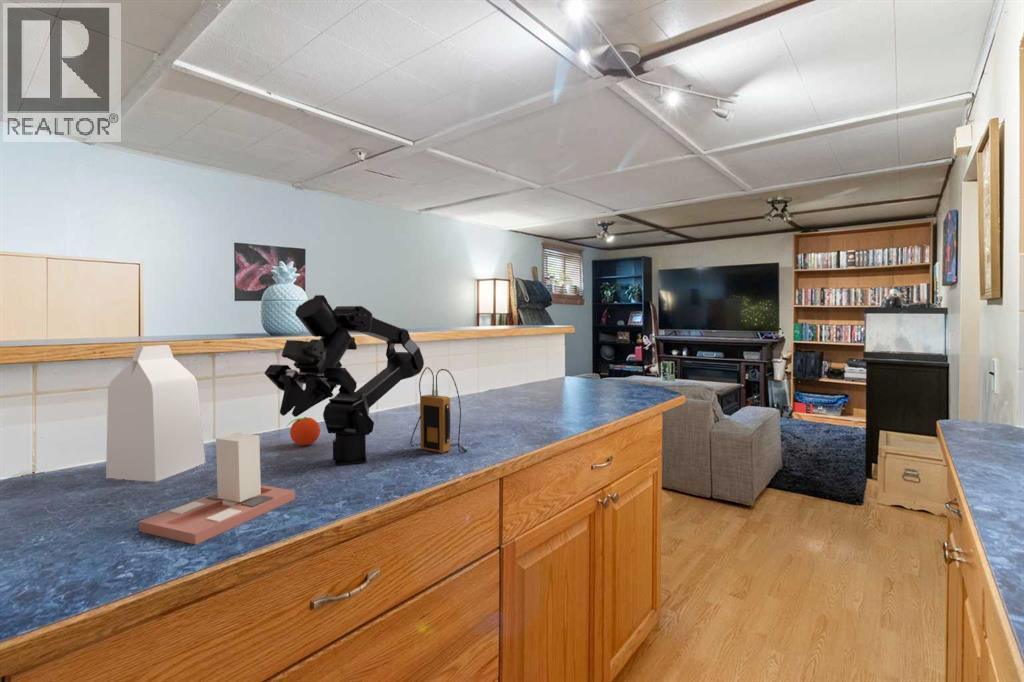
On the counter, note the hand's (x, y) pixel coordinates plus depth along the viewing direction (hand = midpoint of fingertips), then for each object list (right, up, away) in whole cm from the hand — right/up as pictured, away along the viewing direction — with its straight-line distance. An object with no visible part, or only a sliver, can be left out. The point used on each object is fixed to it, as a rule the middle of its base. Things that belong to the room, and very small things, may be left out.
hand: (287, 414), depth 90 cm
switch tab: (-4, -14, -9) cm, 17 cm away
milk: (-32, -13, +10) cm, 36 cm away
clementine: (-10, -12, +29) cm, 33 cm away
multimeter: (+26, -12, +28) cm, 40 cm away
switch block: (-5, -14, -12) cm, 19 cm away
